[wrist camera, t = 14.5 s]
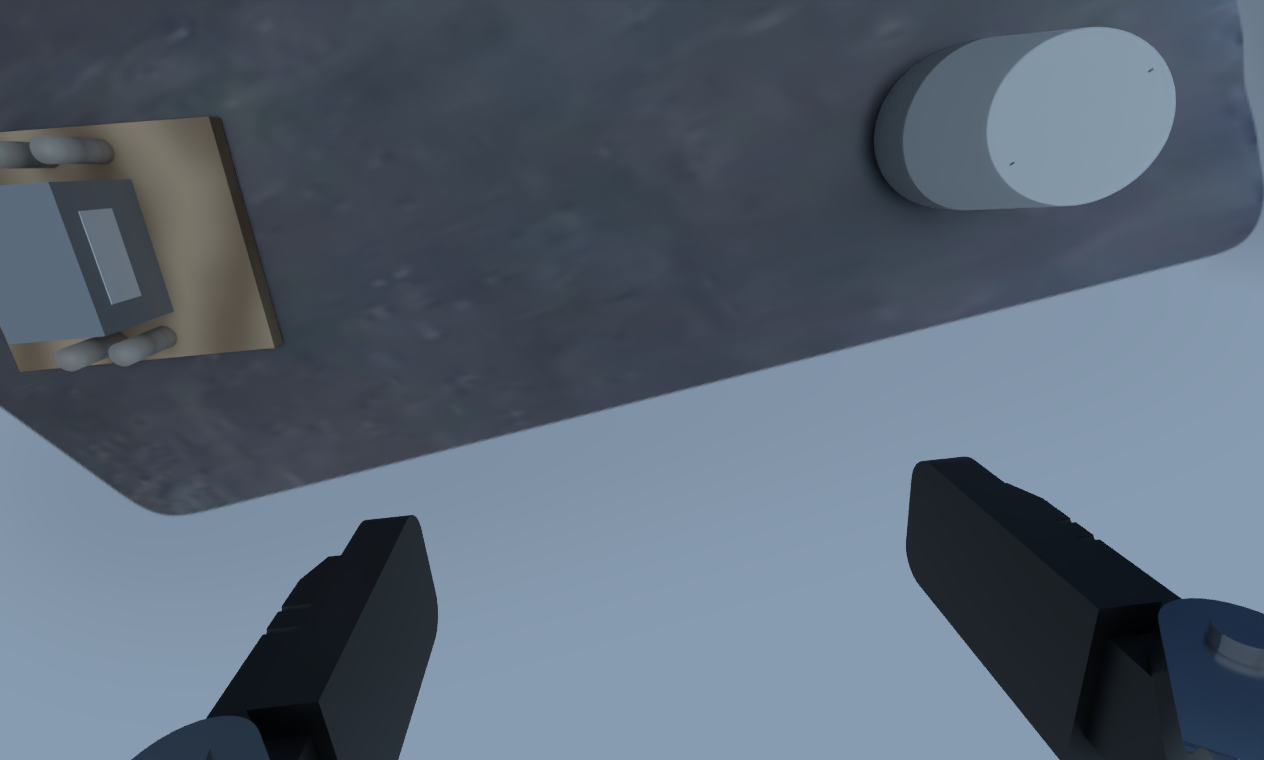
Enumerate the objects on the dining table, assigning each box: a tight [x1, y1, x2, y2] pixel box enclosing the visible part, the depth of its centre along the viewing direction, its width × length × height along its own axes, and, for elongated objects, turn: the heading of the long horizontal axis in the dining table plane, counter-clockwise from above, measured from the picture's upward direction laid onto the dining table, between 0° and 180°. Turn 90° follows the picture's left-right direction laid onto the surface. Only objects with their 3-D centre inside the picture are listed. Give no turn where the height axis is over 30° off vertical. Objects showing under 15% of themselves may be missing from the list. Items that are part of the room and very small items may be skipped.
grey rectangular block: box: [0, 179, 174, 344], centre depth 35 cm, size 5×8×6 cm, turn 4°
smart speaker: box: [874, 27, 1176, 210], centre depth 34 cm, size 10×9×14 cm
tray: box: [0, 117, 283, 372], centre depth 36 cm, size 16×14×5 cm
